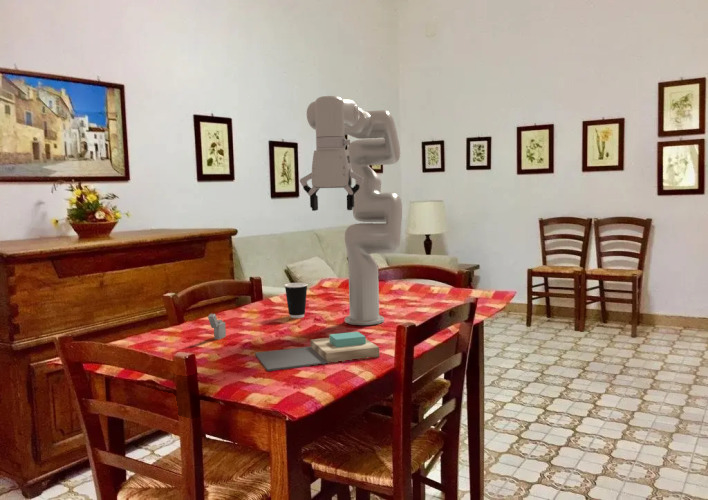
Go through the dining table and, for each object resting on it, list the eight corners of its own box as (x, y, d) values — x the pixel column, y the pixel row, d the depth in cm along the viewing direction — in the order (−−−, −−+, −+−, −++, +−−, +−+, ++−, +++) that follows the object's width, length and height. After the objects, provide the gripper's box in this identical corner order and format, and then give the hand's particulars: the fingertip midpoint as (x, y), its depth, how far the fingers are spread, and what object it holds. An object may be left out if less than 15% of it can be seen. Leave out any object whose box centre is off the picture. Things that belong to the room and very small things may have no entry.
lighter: (220, 335, 183) (219, 309, 182) (226, 336, 183) (224, 309, 182) (209, 341, 176) (207, 314, 175) (214, 342, 176) (213, 314, 175)
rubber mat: (255, 354, 162) (255, 352, 161) (310, 348, 167) (310, 346, 166) (267, 371, 147) (267, 369, 146) (327, 363, 152) (327, 361, 151)
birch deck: (310, 348, 166) (310, 339, 166) (359, 343, 171) (359, 334, 170) (327, 363, 152) (326, 353, 152) (379, 356, 157) (379, 347, 156)
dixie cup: (313, 315, 209) (312, 283, 208) (300, 320, 202) (299, 287, 201) (293, 313, 213) (292, 282, 212) (280, 318, 206) (279, 285, 205)
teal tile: (329, 341, 163) (329, 334, 163) (357, 338, 166) (357, 331, 165) (336, 347, 157) (336, 339, 157) (365, 343, 160) (365, 336, 160)
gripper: (366, 144, 162) (367, 209, 164) (304, 147, 167) (306, 210, 168) (359, 142, 155) (360, 210, 157) (294, 145, 159) (296, 211, 161)
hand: (332, 210), depth 163 cm, fingers open, 9 cm apart
